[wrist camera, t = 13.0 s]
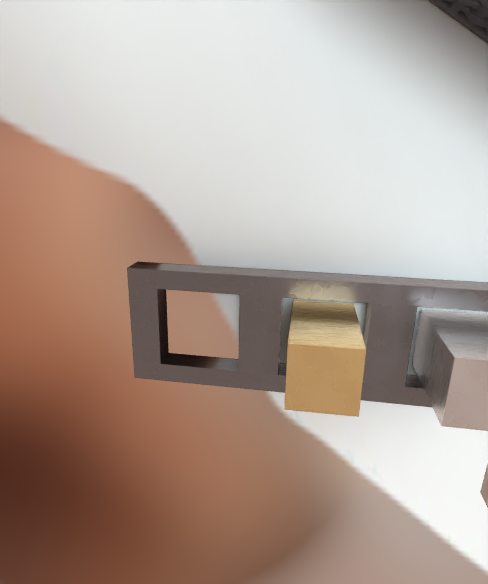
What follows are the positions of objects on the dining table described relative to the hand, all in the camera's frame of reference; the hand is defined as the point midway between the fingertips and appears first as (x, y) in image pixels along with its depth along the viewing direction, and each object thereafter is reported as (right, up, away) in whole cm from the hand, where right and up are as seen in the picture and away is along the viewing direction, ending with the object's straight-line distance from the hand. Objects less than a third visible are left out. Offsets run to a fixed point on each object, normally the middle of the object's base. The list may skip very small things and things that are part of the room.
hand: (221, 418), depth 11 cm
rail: (+7, 0, +23) cm, 24 cm away
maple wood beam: (+7, 0, +23) cm, 24 cm away
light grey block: (+16, 0, +21) cm, 27 cm away
